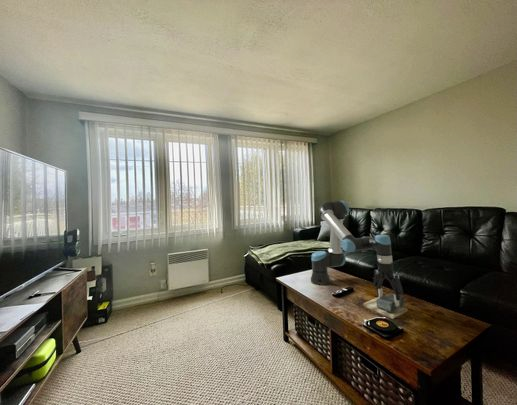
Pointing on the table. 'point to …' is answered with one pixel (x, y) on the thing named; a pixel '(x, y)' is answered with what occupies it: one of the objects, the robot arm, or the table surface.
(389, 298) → the stone block
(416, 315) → the table surface
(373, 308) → the board
